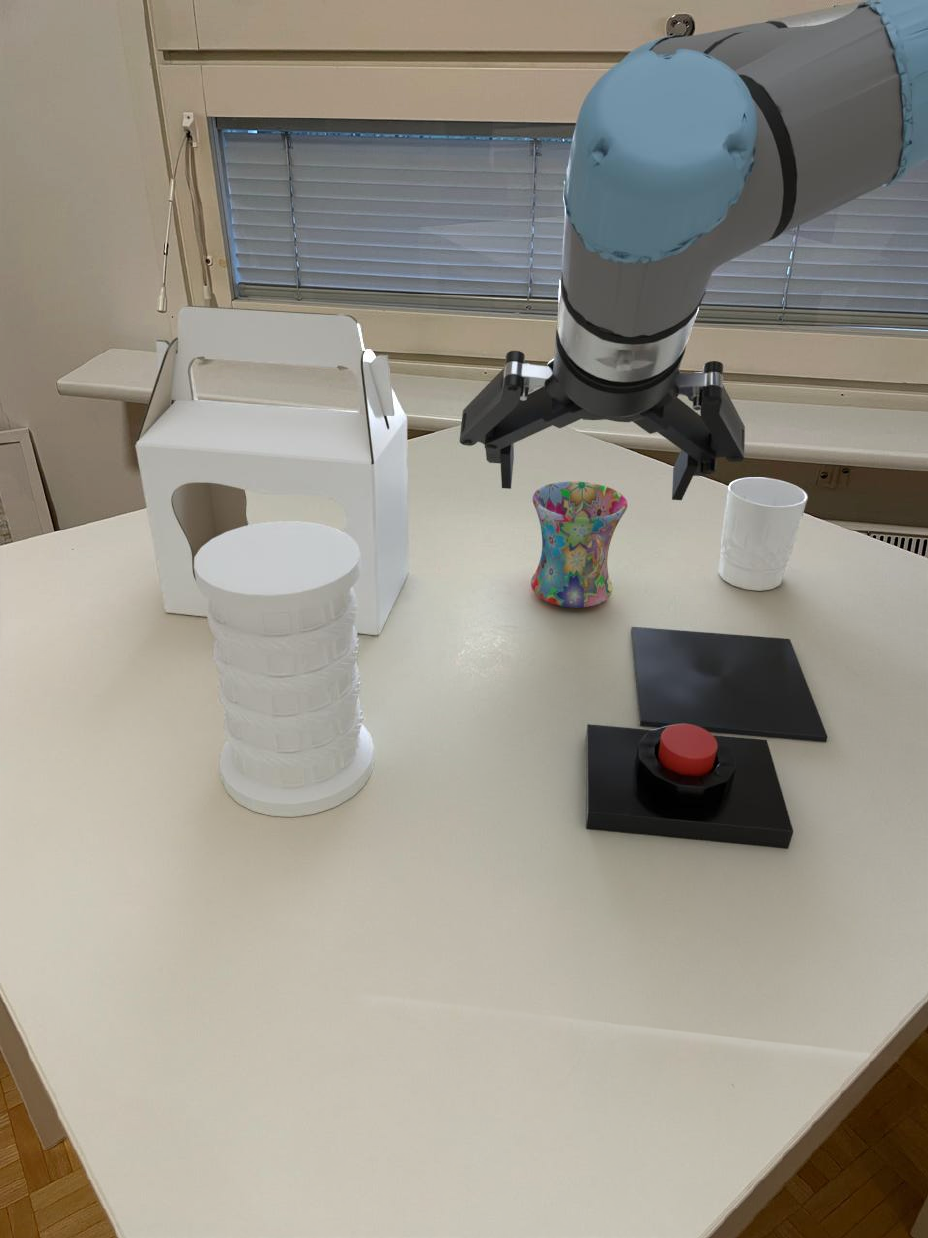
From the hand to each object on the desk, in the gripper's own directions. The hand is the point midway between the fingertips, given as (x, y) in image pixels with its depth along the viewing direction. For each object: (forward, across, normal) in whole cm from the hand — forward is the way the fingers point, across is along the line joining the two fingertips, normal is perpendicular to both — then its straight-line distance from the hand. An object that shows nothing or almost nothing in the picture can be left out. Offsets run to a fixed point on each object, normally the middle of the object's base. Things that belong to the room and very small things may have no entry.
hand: (591, 478), depth 70 cm
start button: (-1, +8, -22) cm, 23 cm away
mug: (+22, 0, -4) cm, 22 cm away
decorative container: (+1, -21, -25) cm, 32 cm away
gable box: (+20, -29, -6) cm, 35 cm away
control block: (+2, +8, -24) cm, 25 cm away
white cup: (+27, +19, +1) cm, 33 cm away
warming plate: (+12, +13, -13) cm, 22 cm away
